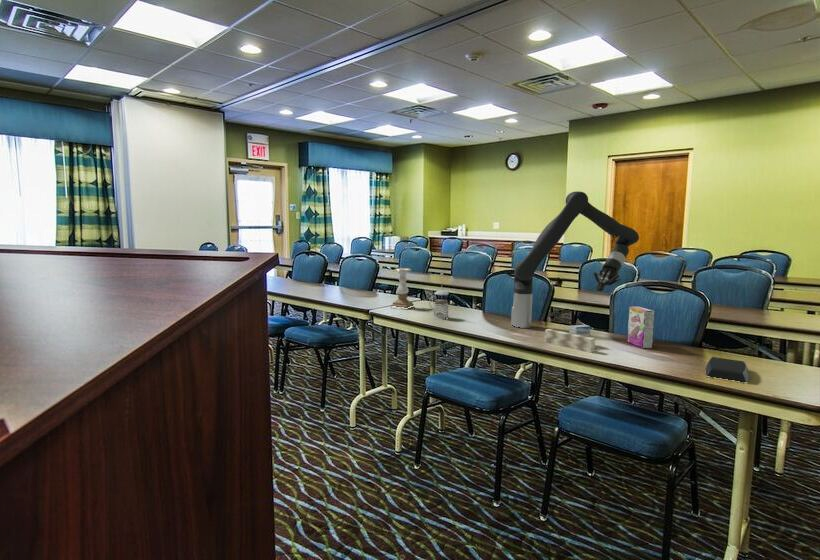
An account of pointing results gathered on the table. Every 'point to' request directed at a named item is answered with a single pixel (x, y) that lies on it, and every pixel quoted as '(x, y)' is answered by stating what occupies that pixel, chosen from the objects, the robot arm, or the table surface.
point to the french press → (443, 304)
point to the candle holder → (402, 290)
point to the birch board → (570, 340)
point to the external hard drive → (727, 369)
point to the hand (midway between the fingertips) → (599, 290)
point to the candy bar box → (640, 326)
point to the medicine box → (580, 330)
